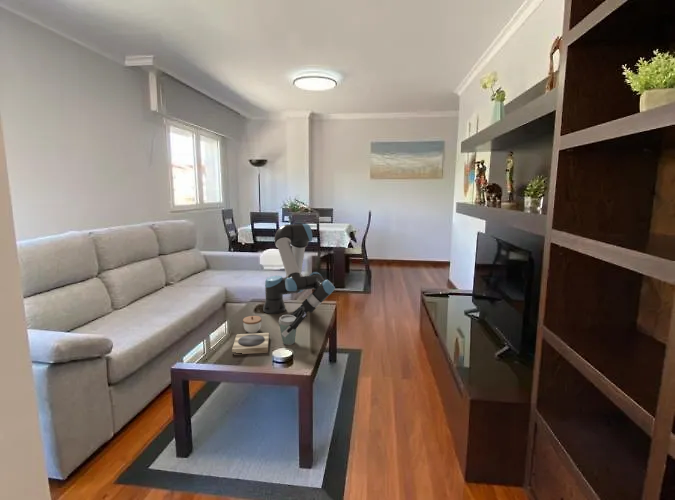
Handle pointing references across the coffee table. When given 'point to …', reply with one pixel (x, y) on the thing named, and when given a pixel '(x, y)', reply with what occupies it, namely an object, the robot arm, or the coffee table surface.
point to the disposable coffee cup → (284, 324)
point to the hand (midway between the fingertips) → (283, 331)
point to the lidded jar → (252, 324)
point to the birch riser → (251, 343)
